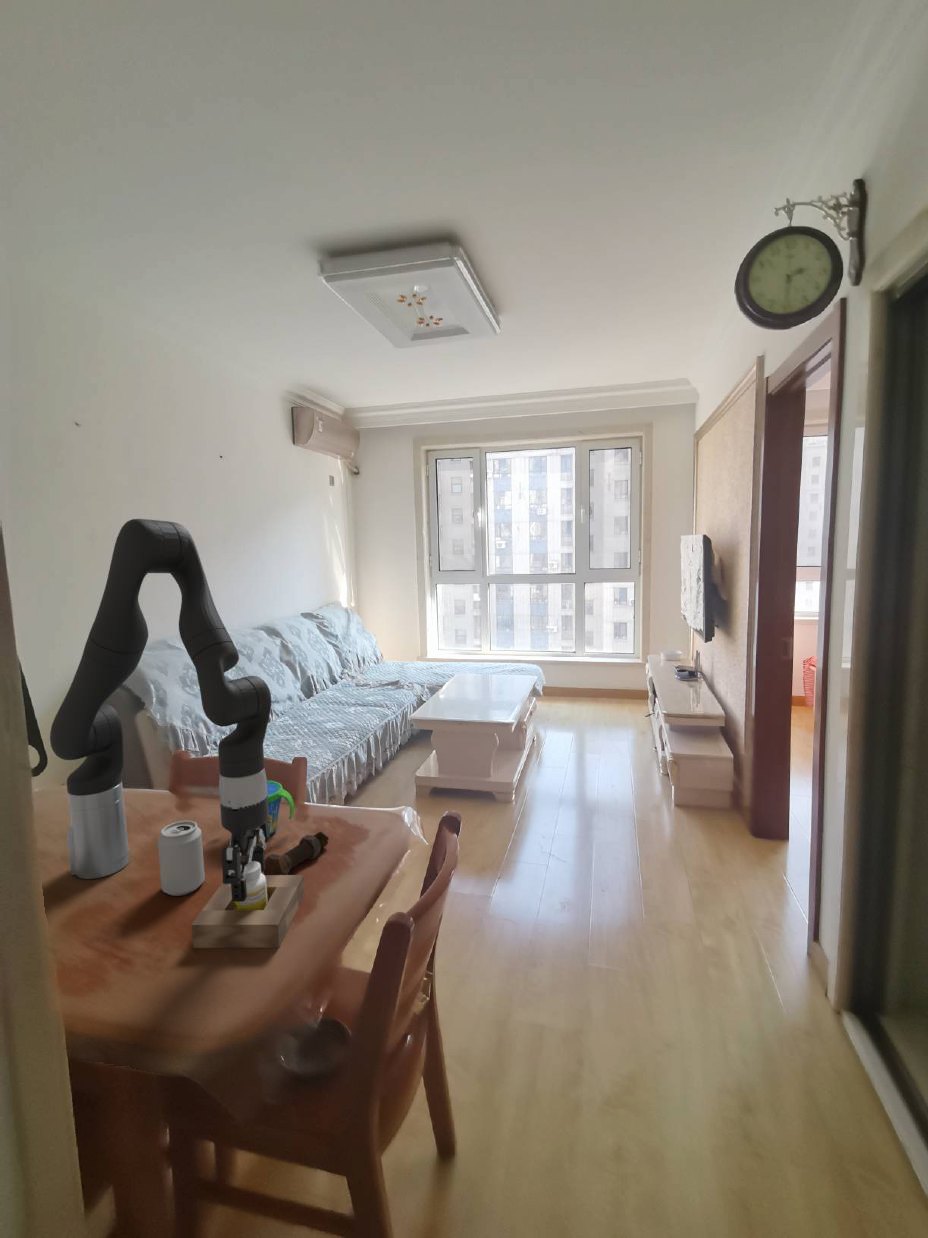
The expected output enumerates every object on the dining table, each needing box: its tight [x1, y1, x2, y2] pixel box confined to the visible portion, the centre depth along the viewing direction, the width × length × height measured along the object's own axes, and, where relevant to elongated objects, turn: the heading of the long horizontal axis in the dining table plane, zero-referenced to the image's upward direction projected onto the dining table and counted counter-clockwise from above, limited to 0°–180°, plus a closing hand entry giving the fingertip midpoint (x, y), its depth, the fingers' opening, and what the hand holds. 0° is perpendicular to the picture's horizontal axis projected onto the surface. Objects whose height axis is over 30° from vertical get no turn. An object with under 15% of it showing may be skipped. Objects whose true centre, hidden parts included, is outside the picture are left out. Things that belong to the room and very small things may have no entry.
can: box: [157, 820, 206, 897], centre depth 110 cm, size 8×8×12 cm
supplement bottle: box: [234, 861, 268, 910], centre depth 100 cm, size 5×5×10 cm
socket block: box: [190, 874, 305, 949], centre depth 100 cm, size 14×14×4 cm
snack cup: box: [262, 780, 295, 836], centre depth 131 cm, size 16×10×10 cm
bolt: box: [262, 831, 329, 875], centre depth 118 cm, size 6×5×15 cm
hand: (249, 885), depth 100 cm, fingers open, 8 cm apart
